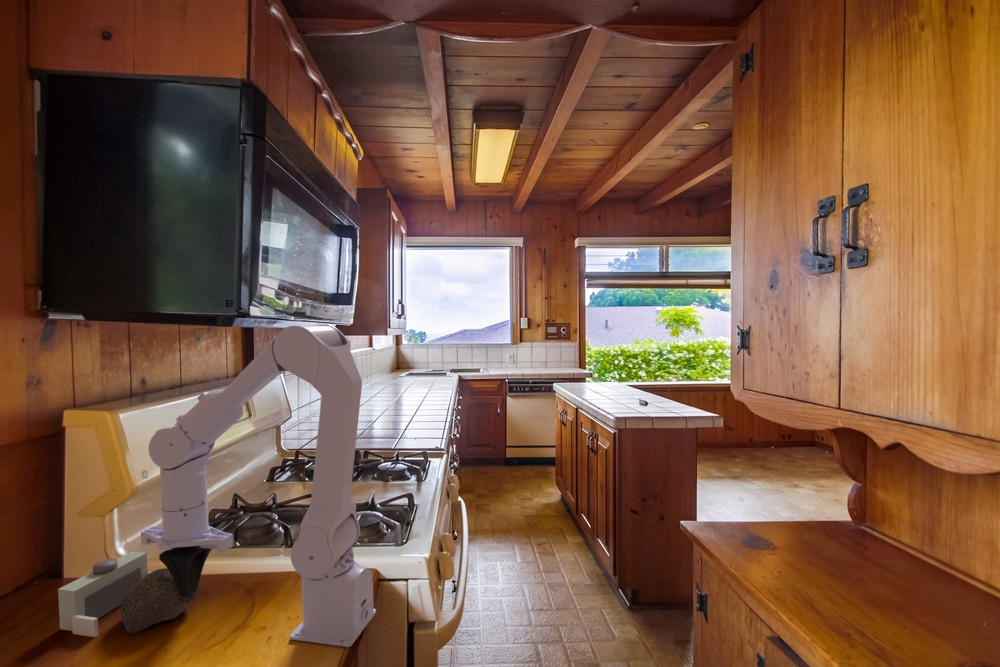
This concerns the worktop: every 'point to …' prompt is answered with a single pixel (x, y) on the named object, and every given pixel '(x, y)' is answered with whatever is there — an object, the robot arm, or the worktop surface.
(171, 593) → the stone
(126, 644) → the worktop surface
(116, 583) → the digital alarm clock
